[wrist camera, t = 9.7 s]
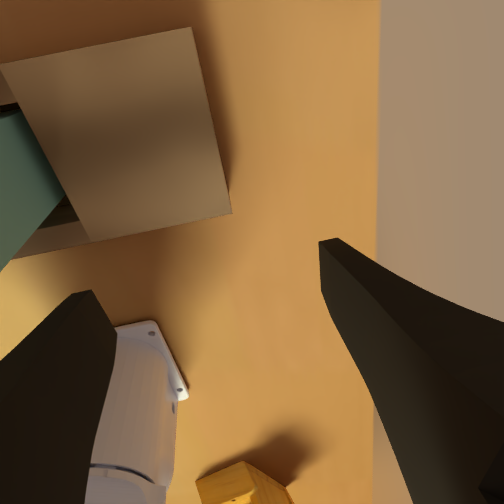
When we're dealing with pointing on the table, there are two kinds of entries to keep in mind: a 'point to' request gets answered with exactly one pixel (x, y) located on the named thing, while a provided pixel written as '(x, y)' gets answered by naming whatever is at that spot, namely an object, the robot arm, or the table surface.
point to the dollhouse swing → (241, 487)
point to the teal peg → (23, 184)
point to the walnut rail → (121, 137)
